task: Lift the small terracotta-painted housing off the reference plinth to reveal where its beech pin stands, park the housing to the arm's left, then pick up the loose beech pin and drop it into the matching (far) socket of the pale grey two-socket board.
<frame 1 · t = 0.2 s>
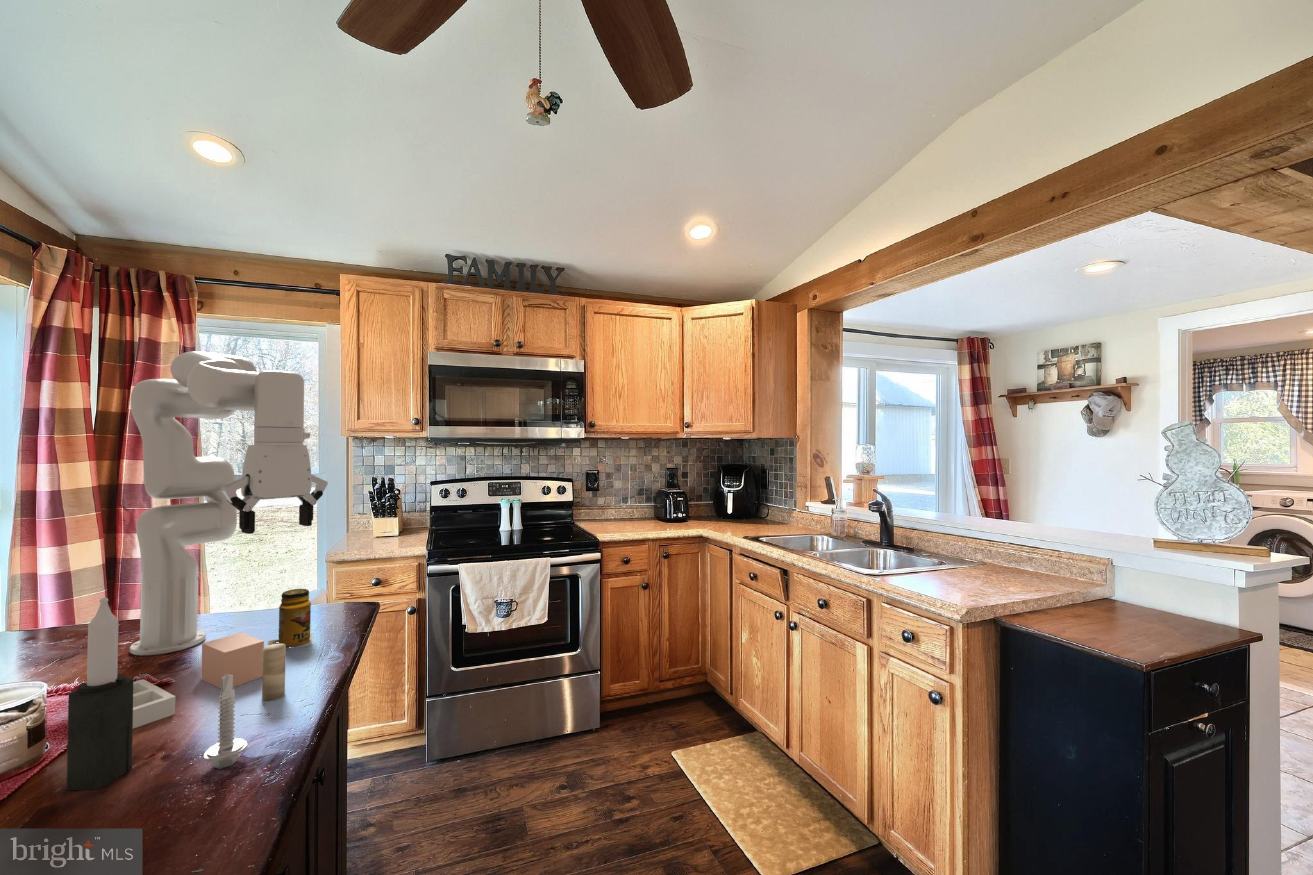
hand: (277, 529, 98), 30 cm above the counter, fingers open, 9 cm apart
pin: (273, 696, 96), on the counter
reference: (232, 677, 103), on the counter
housing: (232, 677, 103), on the counter
screw: (225, 764, 77), on the counter
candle: (100, 779, 73), on the counter
condiment: (289, 644, 121), on the counter
socket board: (131, 713, 90), on the counter
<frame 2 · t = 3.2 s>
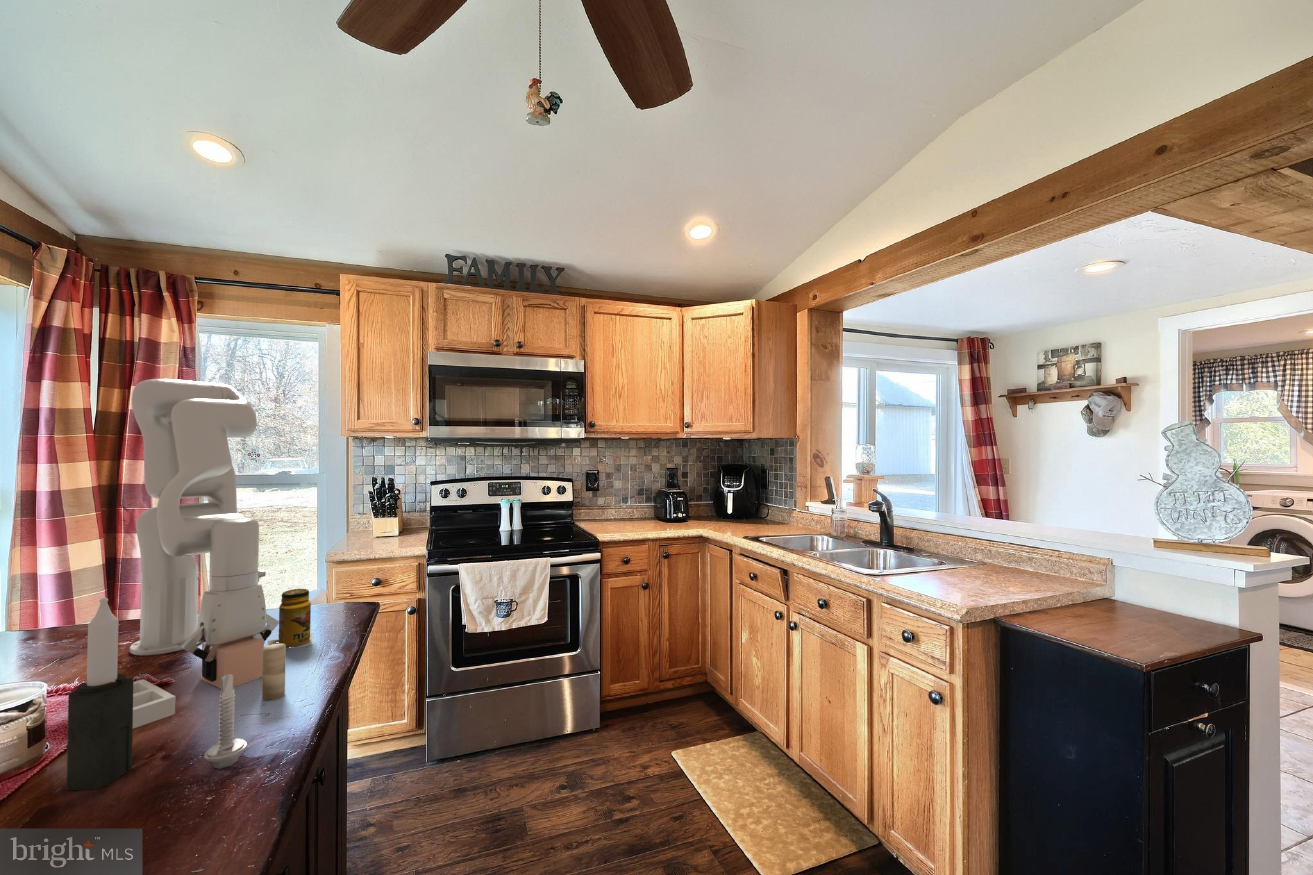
hand: (232, 671, 103), 1 cm above the counter, fingers closed on housing, 6 cm apart
housing: (232, 677, 103), on the counter, touching gripper
everything else where it was.
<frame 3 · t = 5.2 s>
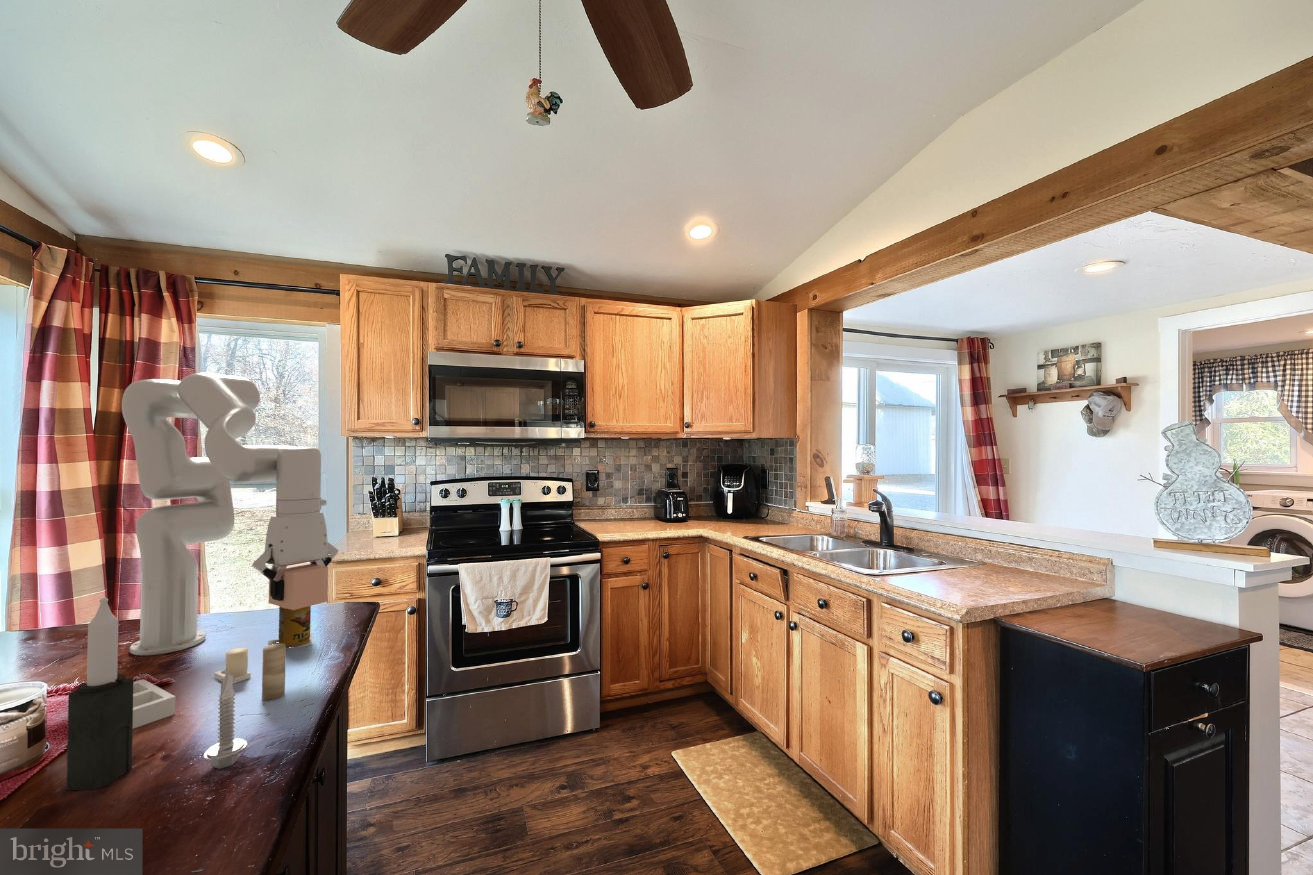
hand: (297, 594, 107), 15 cm above the counter, fingers closed on housing, 6 cm apart
housing: (298, 602, 107), point 14 cm above the counter, touching gripper
everything else where it was.
when the fingers open (2 cm above the counter, at t = 7.7 s): housing stays where it is, on the counter.
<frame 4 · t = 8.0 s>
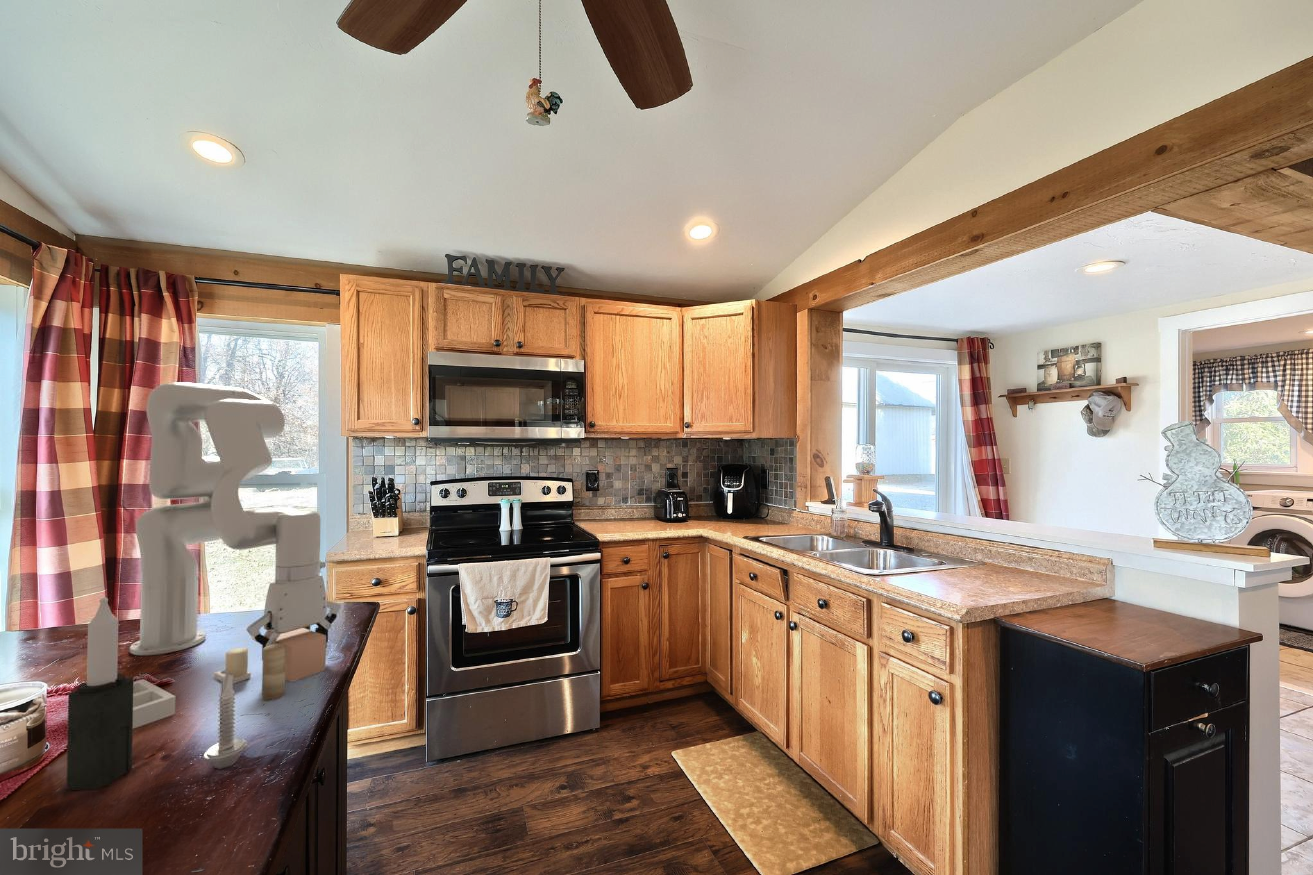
hand: (296, 655, 107), 3 cm above the counter, fingers open, 9 cm apart
housing: (296, 670, 107), on the counter
everything else where it was.
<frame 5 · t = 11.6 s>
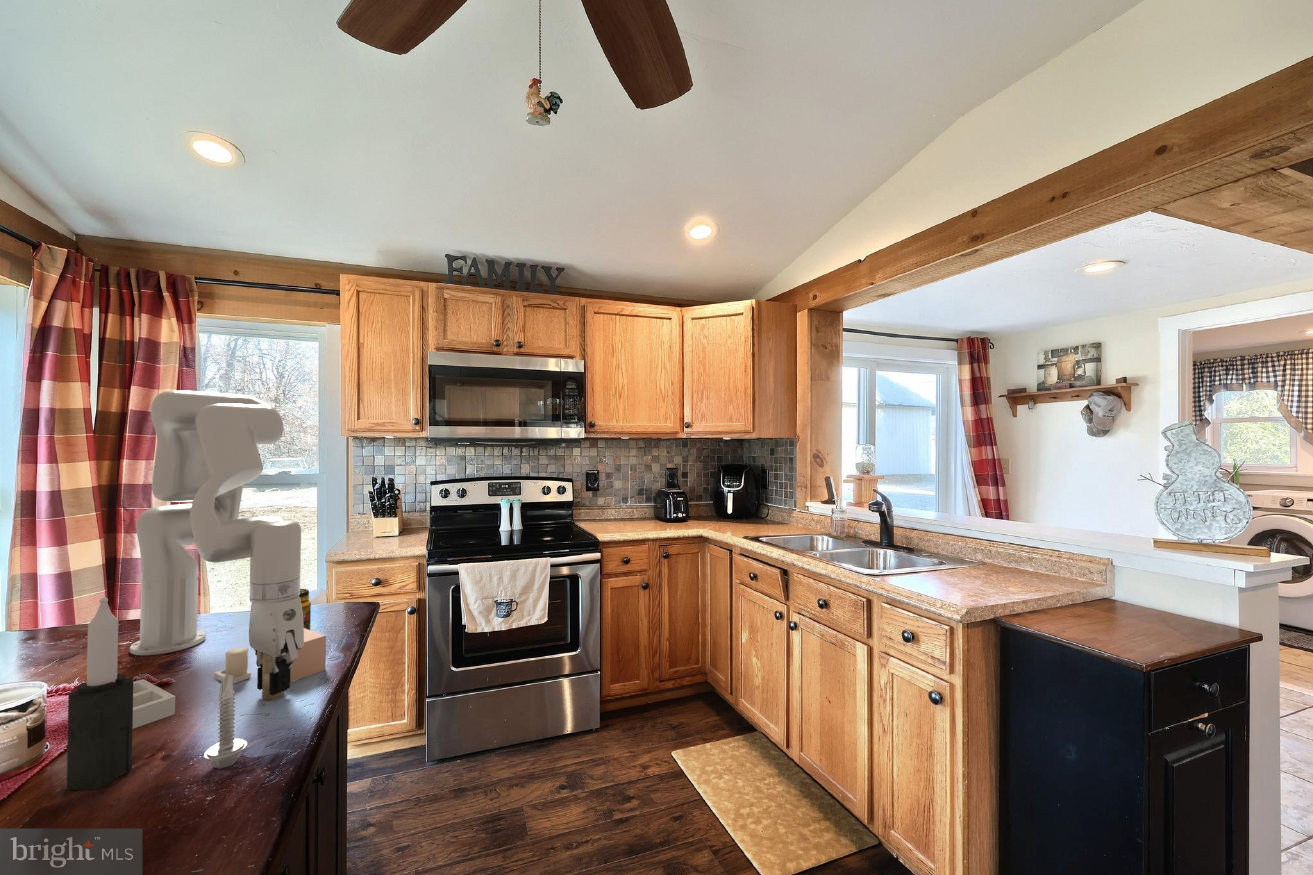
hand: (273, 688, 96), 1 cm above the counter, fingers closed on pin, 3 cm apart
pin: (273, 696, 96), on the counter, touching gripper
everything else where it was.
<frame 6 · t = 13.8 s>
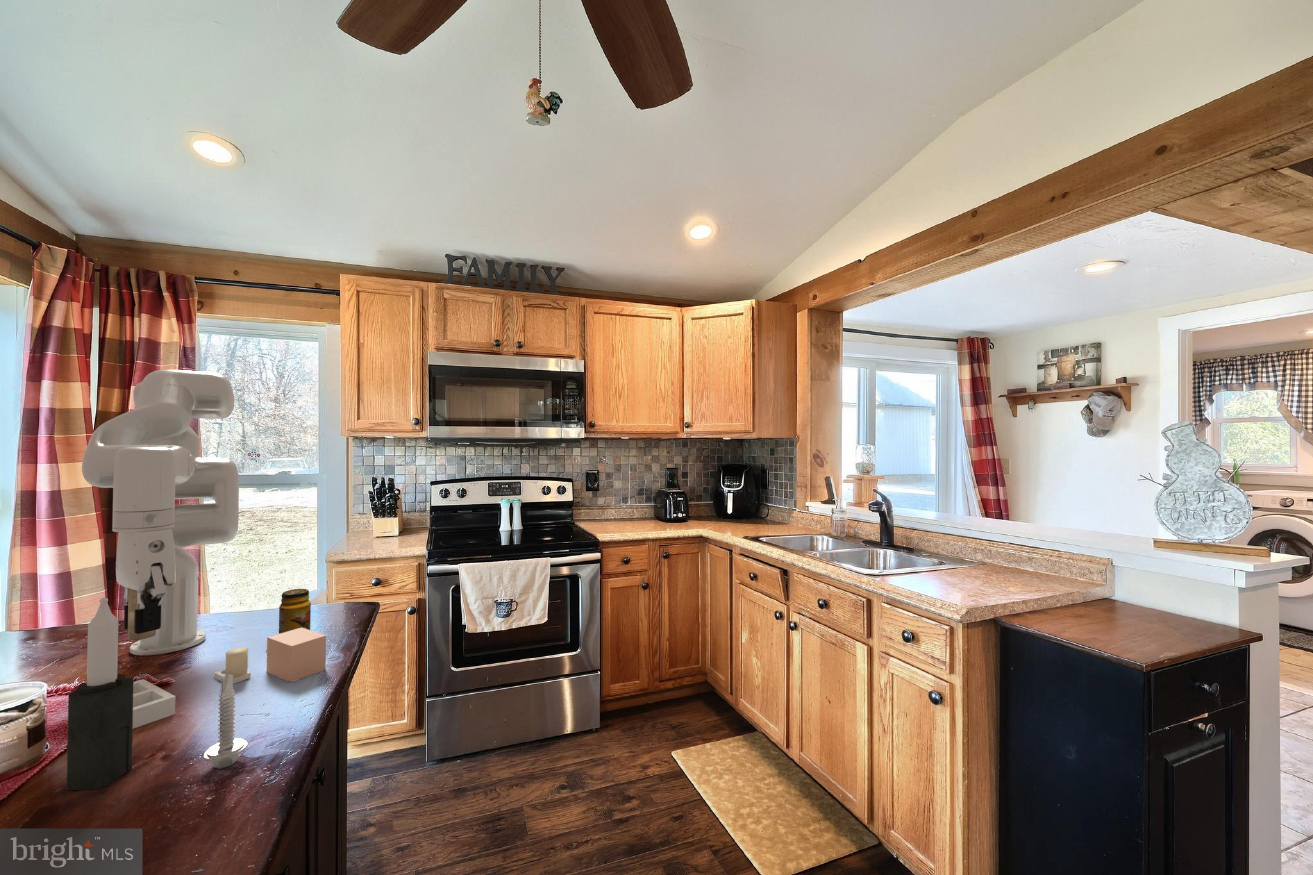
hand: (142, 627, 89), 15 cm above the counter, fingers closed on pin, 3 cm apart
pin: (141, 636, 89), point 14 cm above the counter, touching gripper
everything else where it was.
when the fingers open (4 cm above the counter, at t = 16.2 s): pin drops 2 cm, resting in socket board.
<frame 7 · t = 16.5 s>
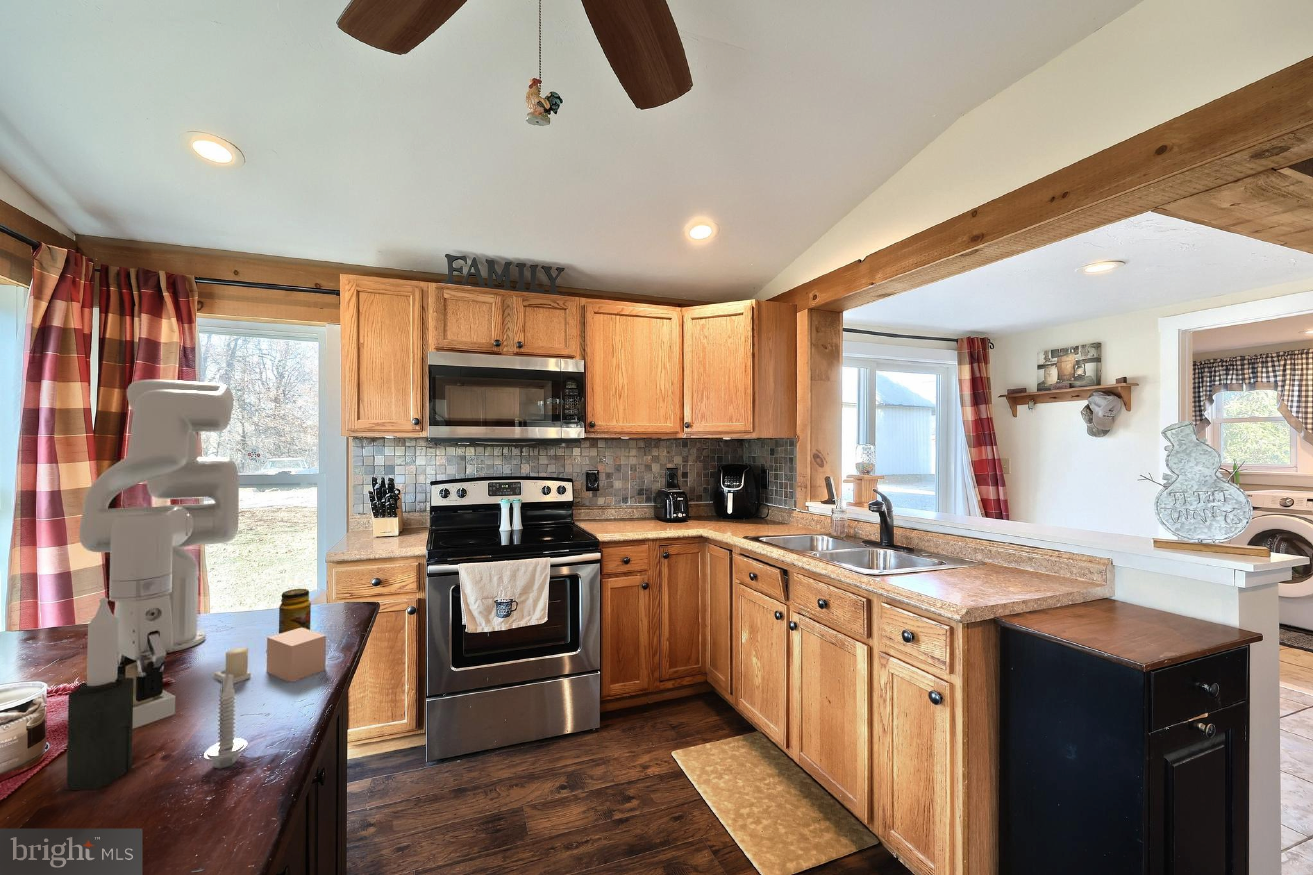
hand: (139, 691, 88), 4 cm above the counter, fingers open, 7 cm apart
pin: (138, 718, 88), resting in socket board
everything else where it was.
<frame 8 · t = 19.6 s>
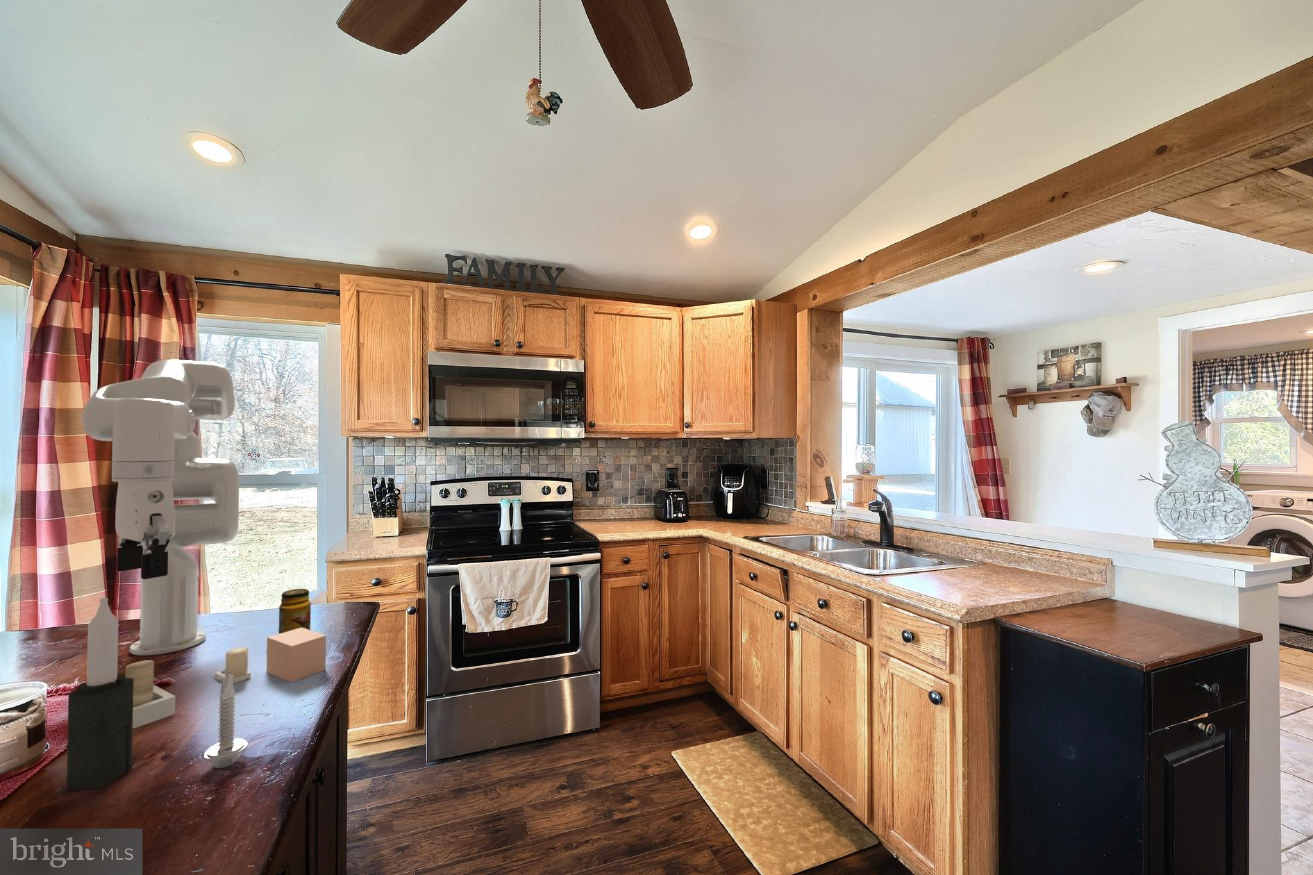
hand: (141, 573, 88), 24 cm above the counter, fingers open, 9 cm apart
nothing on the counter moved.
at the end: pin 0.0 cm from the target spot on the socket board, point 0.0 cm above the socket board's base; pin tilted 0°; housing moved 10.8 cm from its start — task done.
